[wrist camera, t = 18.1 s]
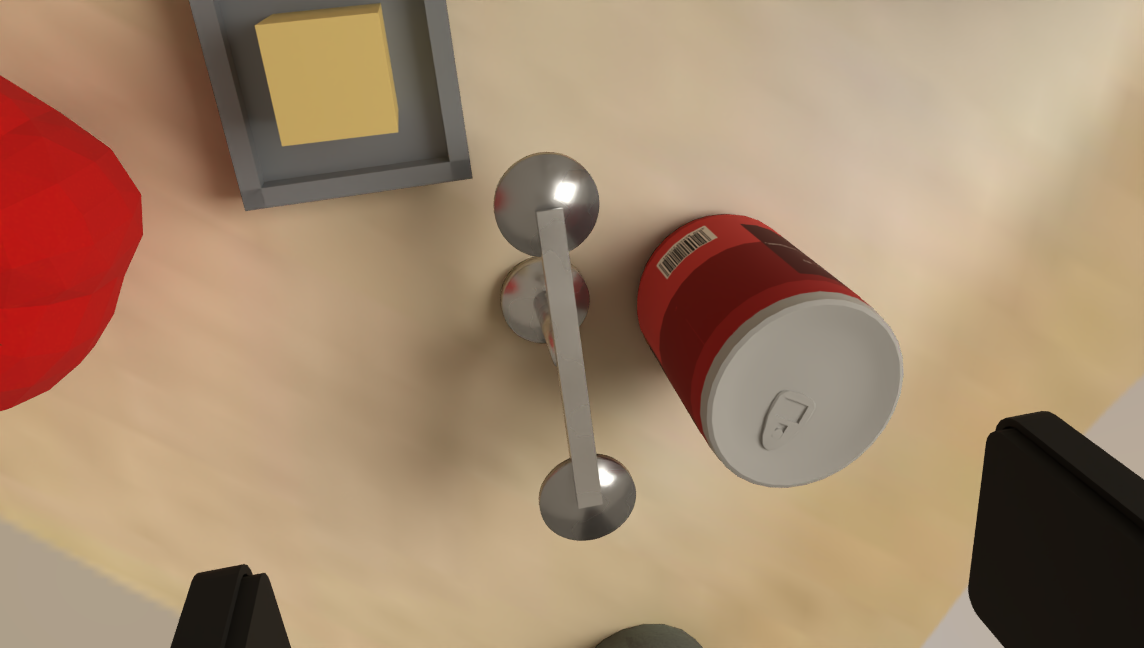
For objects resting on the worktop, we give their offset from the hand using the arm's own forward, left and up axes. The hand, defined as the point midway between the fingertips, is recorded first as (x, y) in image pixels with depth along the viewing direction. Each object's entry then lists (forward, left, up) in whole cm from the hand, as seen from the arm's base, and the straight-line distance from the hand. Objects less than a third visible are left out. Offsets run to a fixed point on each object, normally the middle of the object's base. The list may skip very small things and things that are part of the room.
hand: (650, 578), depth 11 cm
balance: (+8, +2, -28) cm, 29 cm away
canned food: (+9, +10, -28) cm, 32 cm away
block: (-4, -5, -27) cm, 28 cm away
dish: (-3, -5, -28) cm, 29 cm away
